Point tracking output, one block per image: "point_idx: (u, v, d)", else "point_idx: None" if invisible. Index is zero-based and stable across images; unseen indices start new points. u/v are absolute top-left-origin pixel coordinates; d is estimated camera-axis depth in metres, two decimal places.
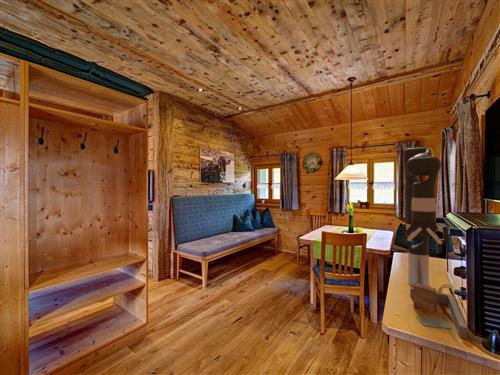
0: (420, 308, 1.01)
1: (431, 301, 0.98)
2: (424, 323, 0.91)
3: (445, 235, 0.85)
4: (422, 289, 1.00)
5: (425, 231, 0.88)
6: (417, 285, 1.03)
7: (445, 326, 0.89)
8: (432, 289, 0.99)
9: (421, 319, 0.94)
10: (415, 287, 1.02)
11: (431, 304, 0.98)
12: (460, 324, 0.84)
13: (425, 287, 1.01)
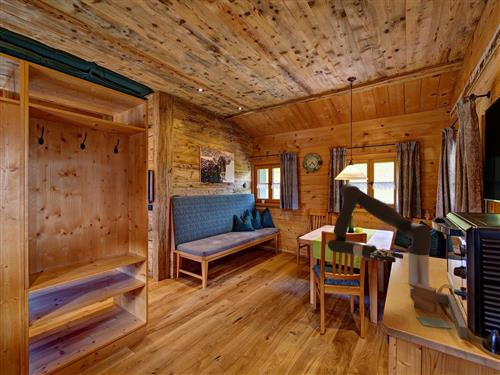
0: (420, 308, 1.01)
1: (431, 301, 0.98)
2: (424, 323, 0.91)
3: None
4: (422, 289, 1.00)
5: None
6: (417, 285, 1.03)
7: (445, 326, 0.89)
8: (432, 289, 0.99)
9: (421, 319, 0.94)
10: (415, 287, 1.02)
11: (431, 304, 0.98)
12: (460, 324, 0.84)
13: (425, 287, 1.01)
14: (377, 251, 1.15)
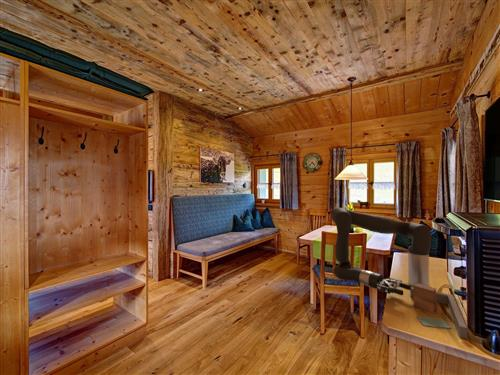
0: (420, 308, 1.01)
1: (431, 301, 0.98)
2: (424, 323, 0.91)
3: None
4: (422, 289, 1.00)
5: None
6: (417, 285, 1.03)
7: (445, 326, 0.89)
8: (432, 289, 0.99)
9: (421, 319, 0.94)
10: (415, 287, 1.02)
11: (431, 304, 0.98)
12: (460, 324, 0.84)
13: (425, 287, 1.01)
14: (384, 281, 1.13)
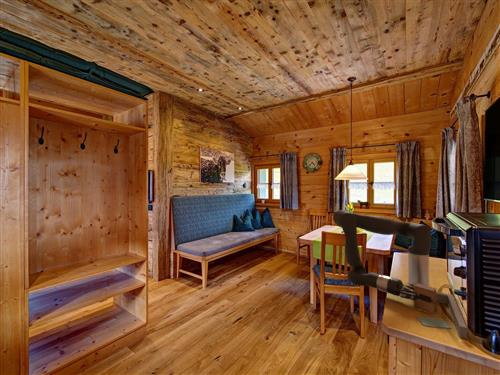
0: (420, 308, 1.01)
1: (431, 301, 0.98)
2: (424, 323, 0.91)
3: None
4: (422, 289, 1.00)
5: None
6: (417, 285, 1.03)
7: (445, 326, 0.89)
8: (432, 289, 0.99)
9: (421, 319, 0.94)
10: (415, 287, 1.02)
11: (431, 304, 0.98)
12: (460, 324, 0.84)
13: (425, 287, 1.01)
14: (405, 288, 1.05)
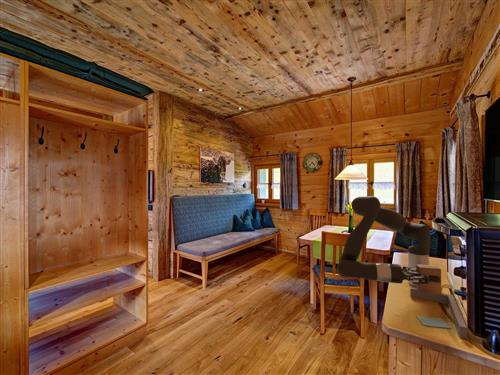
0: (427, 291, 0.91)
1: None
2: (424, 323, 0.91)
3: None
4: (429, 269, 0.91)
5: None
6: (421, 266, 0.93)
7: (445, 326, 0.89)
8: (437, 267, 0.92)
9: (421, 319, 0.94)
10: (421, 269, 0.92)
11: (439, 283, 0.90)
12: (460, 324, 0.84)
13: (429, 266, 0.93)
14: (410, 272, 0.93)
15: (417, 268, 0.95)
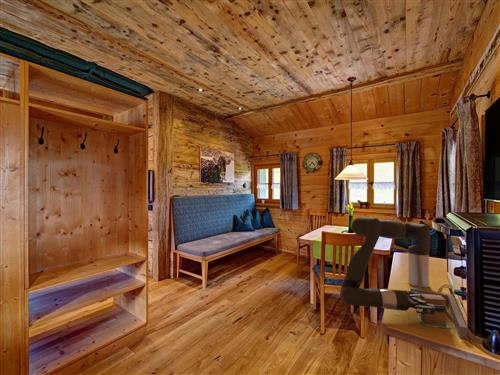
0: (432, 322, 0.90)
1: None
2: (424, 323, 0.91)
3: None
4: (435, 300, 0.90)
5: None
6: (426, 296, 0.92)
7: (445, 326, 0.89)
8: (441, 297, 0.91)
9: (421, 319, 0.94)
10: (427, 300, 0.91)
11: (444, 314, 0.89)
12: (460, 324, 0.84)
13: (434, 297, 0.92)
14: (415, 299, 0.91)
15: (422, 298, 0.93)
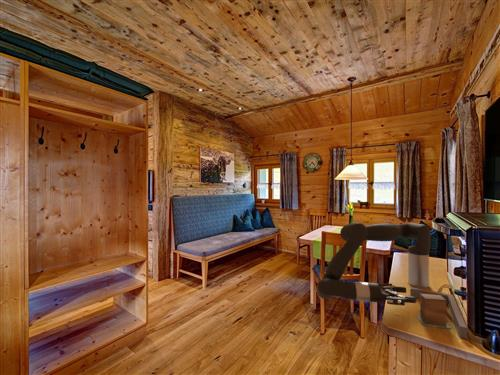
0: (432, 322, 0.90)
1: (444, 311, 0.89)
2: (424, 323, 0.91)
3: None
4: (435, 300, 0.90)
5: None
6: (426, 296, 0.92)
7: (445, 326, 0.89)
8: (441, 297, 0.91)
9: (421, 319, 0.94)
10: (427, 300, 0.91)
11: (444, 314, 0.89)
12: (460, 324, 0.84)
13: (434, 297, 0.92)
14: (387, 291, 0.94)
15: (422, 298, 0.93)
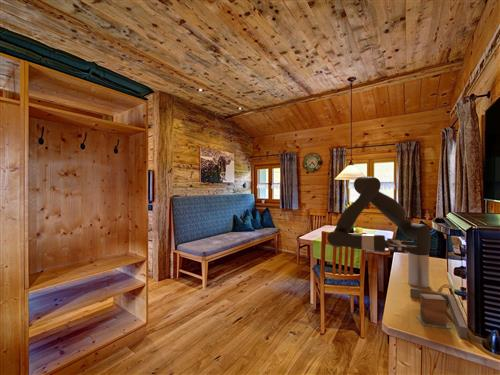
0: (432, 322, 0.90)
1: (444, 311, 0.89)
2: (424, 323, 0.91)
3: None
4: (435, 300, 0.90)
5: None
6: (426, 296, 0.92)
7: (445, 326, 0.89)
8: (441, 297, 0.91)
9: (421, 319, 0.94)
10: (427, 300, 0.91)
11: (444, 314, 0.89)
12: (460, 324, 0.84)
13: (434, 297, 0.92)
14: (392, 241, 1.02)
15: (422, 298, 0.93)
